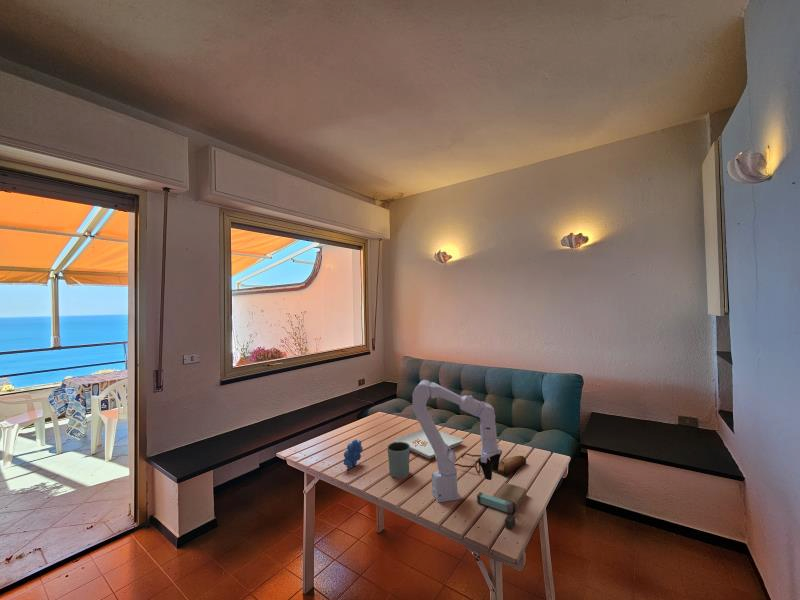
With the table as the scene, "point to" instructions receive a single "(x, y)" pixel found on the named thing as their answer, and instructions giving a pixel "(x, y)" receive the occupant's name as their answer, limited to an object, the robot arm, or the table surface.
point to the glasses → (471, 466)
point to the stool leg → (495, 502)
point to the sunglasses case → (510, 465)
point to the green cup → (399, 459)
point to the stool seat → (511, 500)
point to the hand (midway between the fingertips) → (491, 474)
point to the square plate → (428, 449)
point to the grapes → (352, 453)
